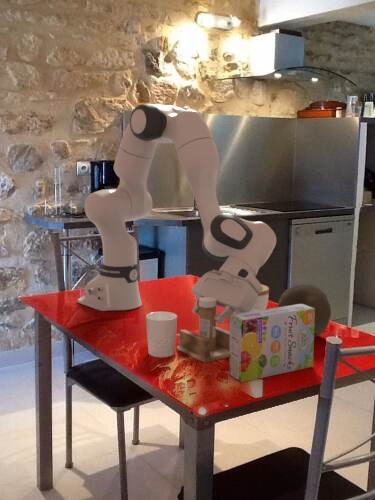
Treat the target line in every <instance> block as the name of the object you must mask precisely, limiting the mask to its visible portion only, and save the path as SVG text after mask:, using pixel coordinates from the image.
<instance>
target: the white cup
mask: <svg viewBox="0 0 375 500" xmlns="http://www.w3.org/2000/svg"><path fill="white" fill-rule="evenodd" d="M145 317H146V318H145V321H146V322H145V323H146V335H147V336H146V340H147V344H148V345H147V346H148V348H147V349H148V355H149V356H151V357H154V358H168V357H173V355H174V354H175V348H176V341H177V340H176V339H177V326H178V325H177V323H178V322H177V321H178V314H176V313H174V312H170V311H153V312H150V313H148V314H146V315H145Z"/></svg>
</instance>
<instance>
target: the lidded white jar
mask: <svg viewBox="0 0 375 500" xmlns="http://www.w3.org/2000/svg"><path fill="white" fill-rule="evenodd" d="M260 284H261V285H262V287H263V290H262V292H261V293H259V294H258V293H257V294H258V297H257V299H256V301H255V303H254V304H253V306H252V307H251V309H250V310H249V311H248V312H251V311H252V310H255V309H257V310H264V309H267V306H268V302H269V293H270V288H269V286H268V285H264V284H262V283H260ZM234 314H238V313H237V312H234Z"/></svg>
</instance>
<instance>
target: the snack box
mask: <svg viewBox="0 0 375 500" xmlns="http://www.w3.org/2000/svg"><path fill="white" fill-rule="evenodd" d="M314 321H315V308H312V307H310V306H307V305H304V304H296V305H290V306H283V307H278V306H277V307H272V308H271V307H270V308H266V309H264V310H258V311H251V312H245V313H238V314H236V313H233V314H232V315H230V316H229V332H230V346H229V357H228V362H229V364H228V365H229V367H228V369H229V370H228V373H229V374H228V375H229V377H231V378H233V379H235V380H237V381H238V382H240V383H244V382H249V381H253V380H254V381H255V380H258V379H262V378H268V377H271V376H277V375H281V374H285V373H290V372H295V371H300V370H303V369H309V368H313V367H314V351H315V350H314V349H315V347H314V345H315V337H314Z"/></svg>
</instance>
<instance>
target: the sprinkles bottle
mask: <svg viewBox="0 0 375 500" xmlns="http://www.w3.org/2000/svg"><path fill="white" fill-rule="evenodd" d="M199 306H200V314H199V317H198V321H199V322H198V323H199V324H198V335H199V336H201V337H203V338H205V339H208V340H210V351H211V350H214V349H215V348H216V327H217V322H216V321H215V317H216V315H217V307H218V306H217V300H216V299H215V298H212V297H202V298H200V299H199Z"/></svg>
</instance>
